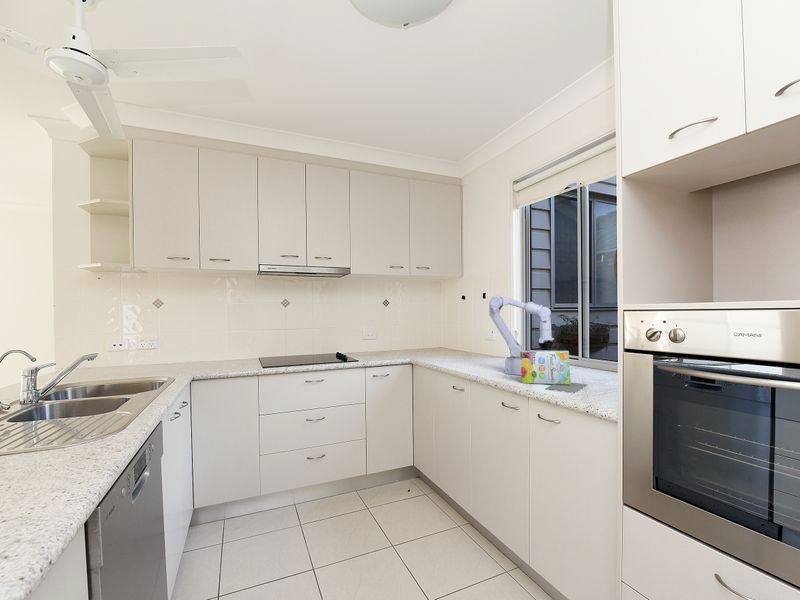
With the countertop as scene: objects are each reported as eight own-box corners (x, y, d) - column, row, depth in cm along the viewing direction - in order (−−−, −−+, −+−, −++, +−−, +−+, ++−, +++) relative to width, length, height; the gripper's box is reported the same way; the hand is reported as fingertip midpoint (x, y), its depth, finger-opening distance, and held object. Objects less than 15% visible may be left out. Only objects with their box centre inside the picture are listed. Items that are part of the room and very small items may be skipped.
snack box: (570, 383, 170) (568, 350, 171) (570, 385, 165) (568, 351, 166) (522, 381, 179) (521, 350, 180) (521, 383, 174) (519, 351, 175)
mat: (545, 389, 160) (545, 388, 160) (560, 382, 175) (560, 381, 175) (574, 393, 152) (574, 392, 152) (587, 385, 168) (587, 384, 168)
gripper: (548, 330, 185) (549, 357, 184) (557, 329, 196) (558, 354, 195) (534, 330, 190) (535, 356, 189) (544, 329, 201) (545, 354, 200)
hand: (546, 355), depth 193 cm, fingers open, 3 cm apart
